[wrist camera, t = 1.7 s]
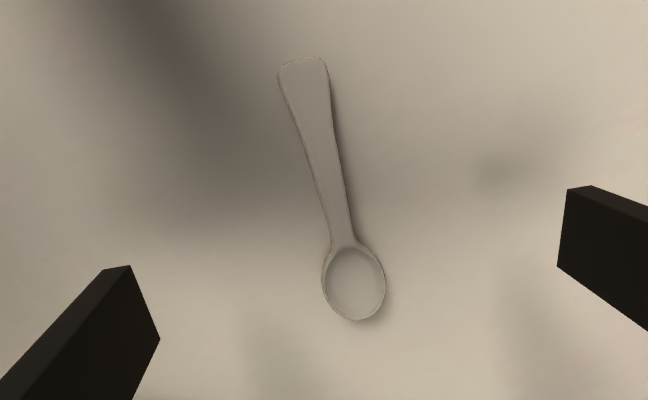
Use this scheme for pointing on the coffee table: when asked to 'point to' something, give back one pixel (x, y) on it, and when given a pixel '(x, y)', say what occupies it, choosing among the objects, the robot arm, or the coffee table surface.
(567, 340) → the coffee table surface
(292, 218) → the coffee table surface
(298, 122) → the spoon
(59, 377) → the robot arm
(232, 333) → the coffee table surface
